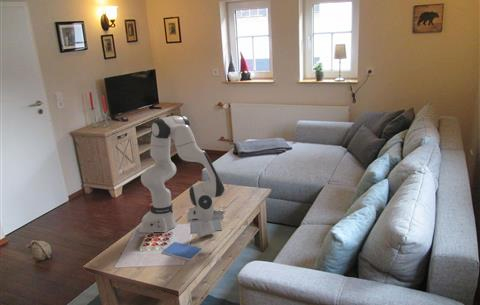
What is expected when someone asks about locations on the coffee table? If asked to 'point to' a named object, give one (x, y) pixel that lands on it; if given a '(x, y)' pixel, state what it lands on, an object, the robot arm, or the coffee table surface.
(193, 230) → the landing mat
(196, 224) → the photo printer
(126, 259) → the coffee table surface
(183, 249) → the tablet computer
